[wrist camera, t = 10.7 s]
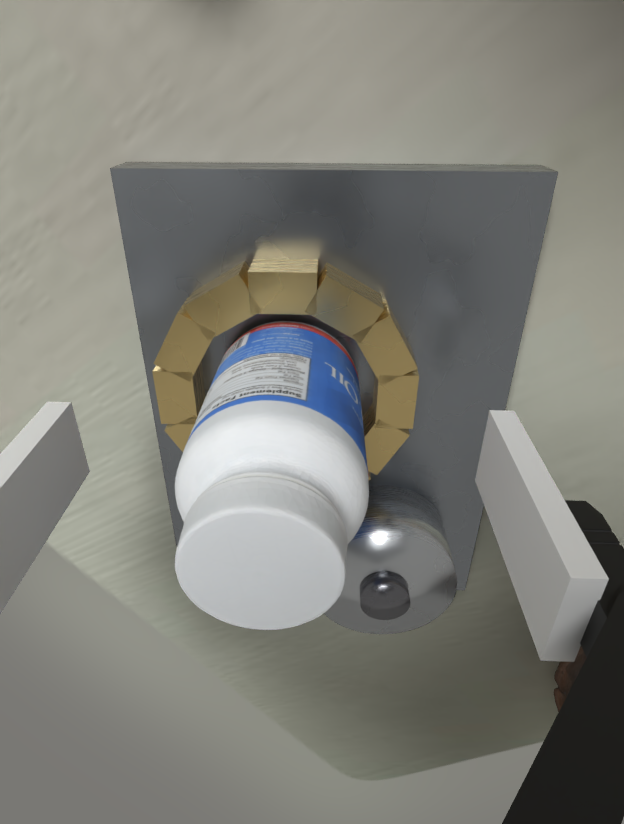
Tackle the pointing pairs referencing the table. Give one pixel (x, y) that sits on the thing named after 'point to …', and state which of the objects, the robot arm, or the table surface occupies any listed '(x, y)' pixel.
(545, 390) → the table surface
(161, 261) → the carrier plate
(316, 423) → the pill bottle
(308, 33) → the table surface
